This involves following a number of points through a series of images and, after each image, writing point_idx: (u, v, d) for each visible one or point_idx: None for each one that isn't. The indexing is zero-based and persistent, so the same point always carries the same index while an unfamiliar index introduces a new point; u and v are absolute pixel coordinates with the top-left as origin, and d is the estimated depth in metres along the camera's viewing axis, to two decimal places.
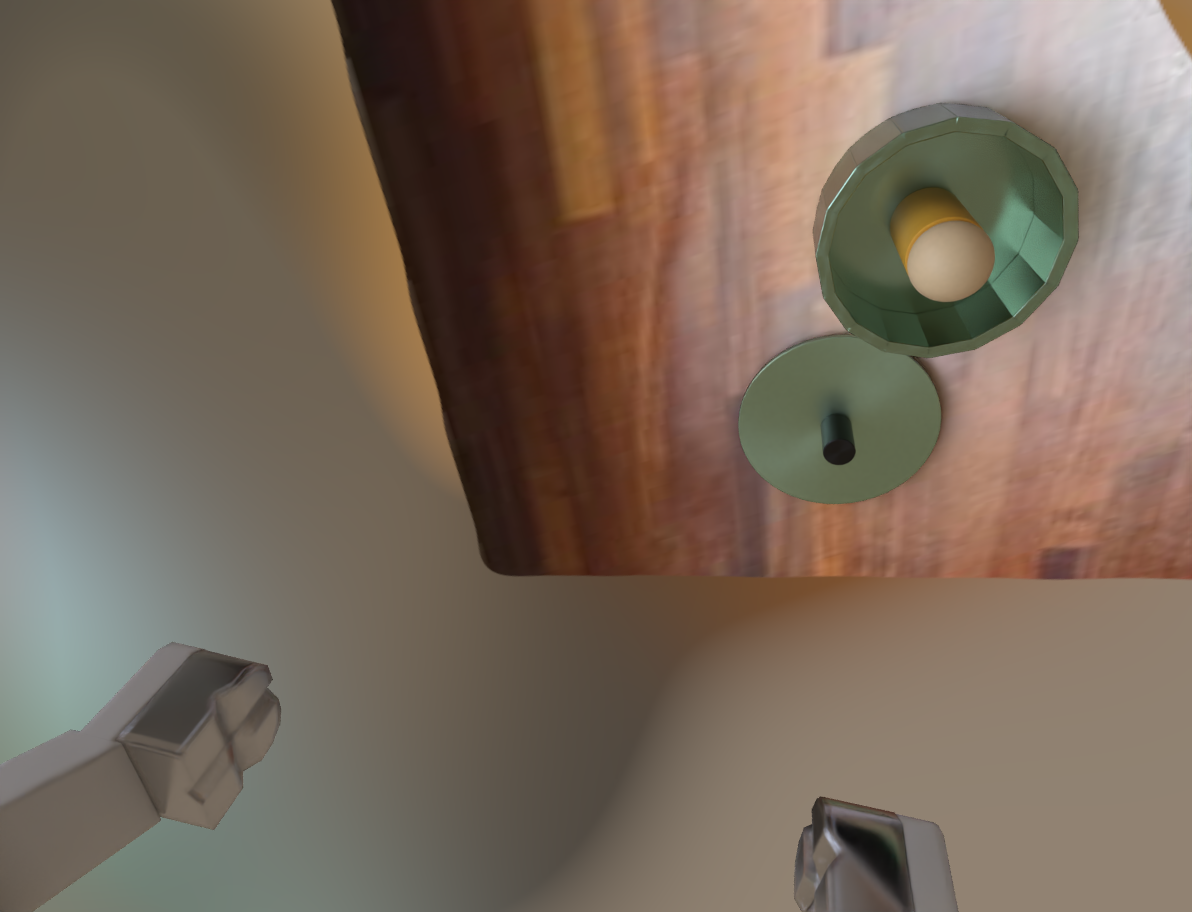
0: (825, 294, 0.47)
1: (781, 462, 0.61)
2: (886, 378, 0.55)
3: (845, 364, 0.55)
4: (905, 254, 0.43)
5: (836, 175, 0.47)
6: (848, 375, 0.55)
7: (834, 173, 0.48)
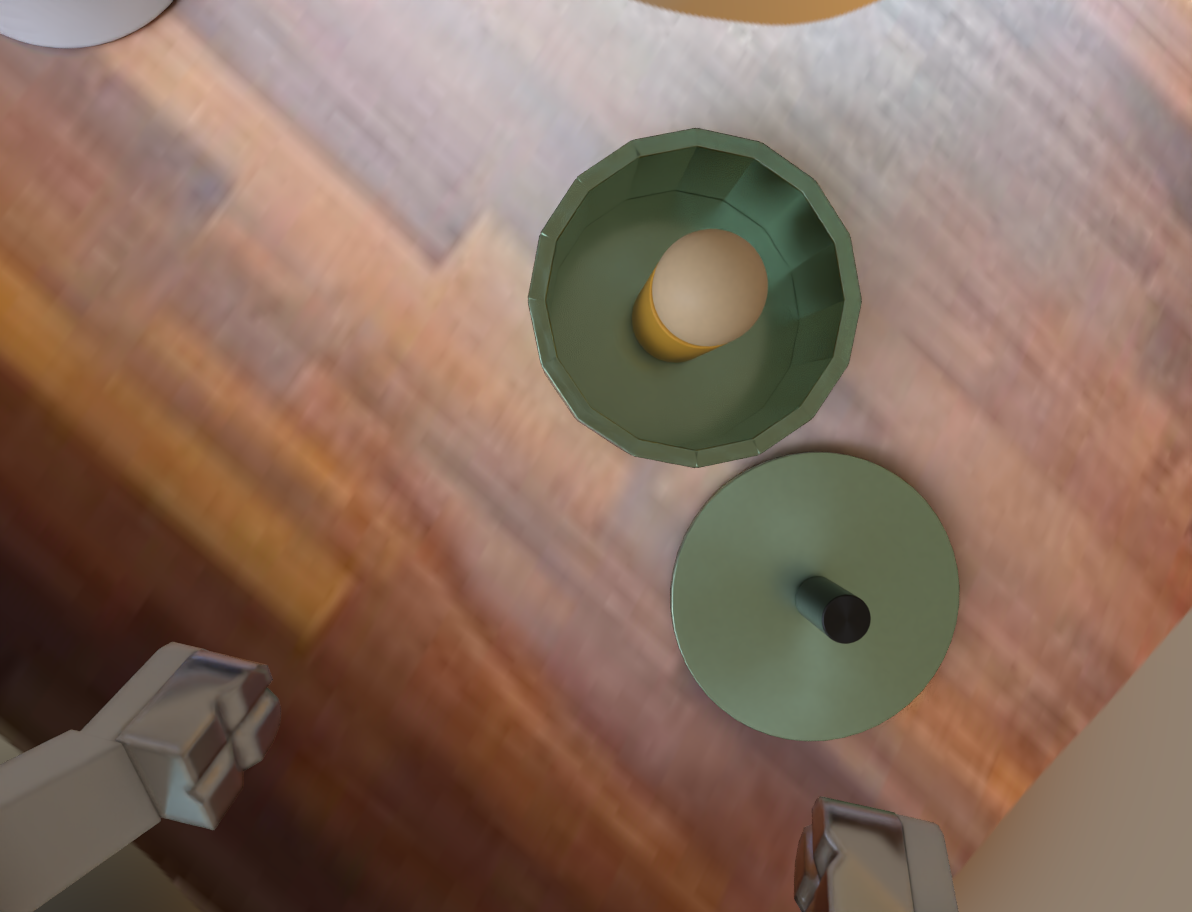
0: (631, 450, 0.32)
1: (806, 700, 0.38)
2: (808, 496, 0.38)
3: (751, 520, 0.38)
4: (661, 329, 0.30)
5: None
6: (766, 529, 0.38)
7: None
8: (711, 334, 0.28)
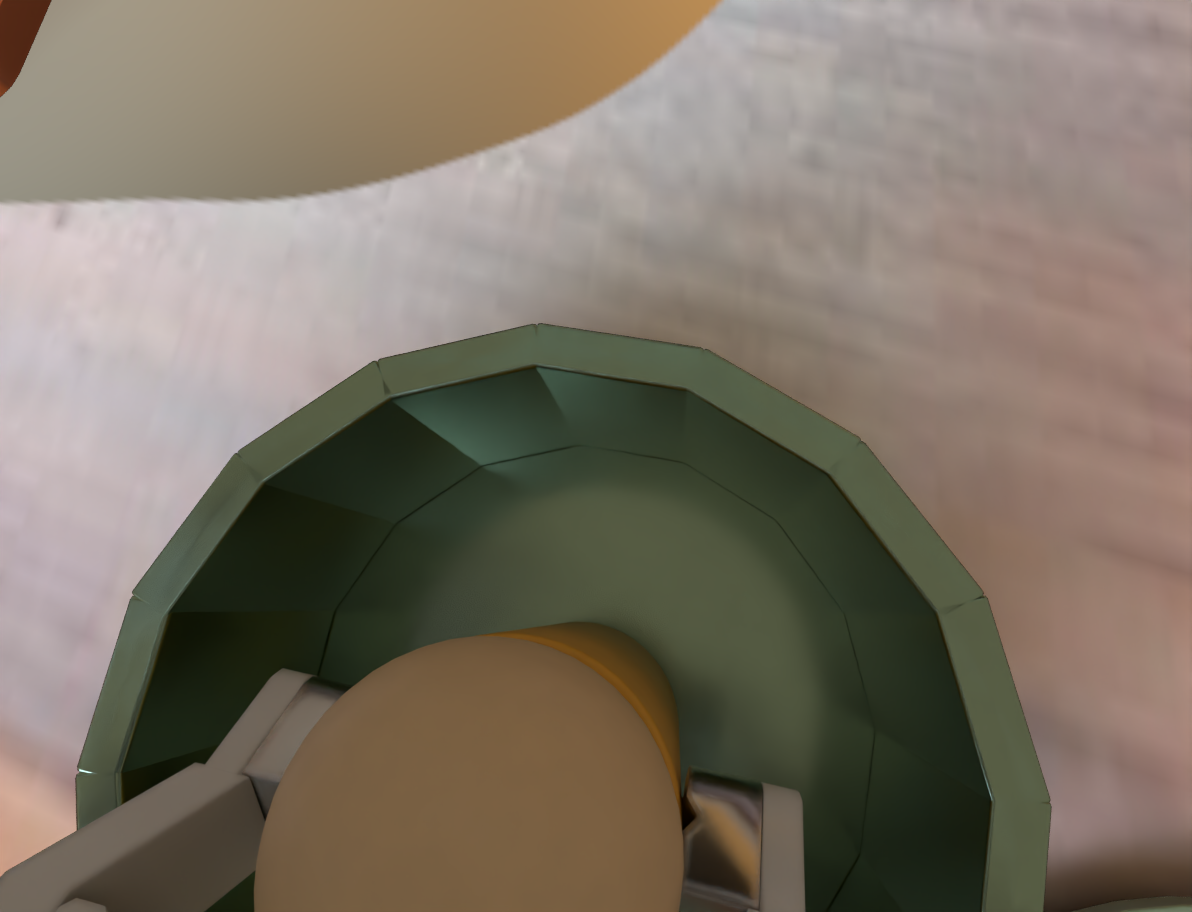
0: None
1: None
2: None
3: None
4: None
5: None
6: None
7: None
8: None
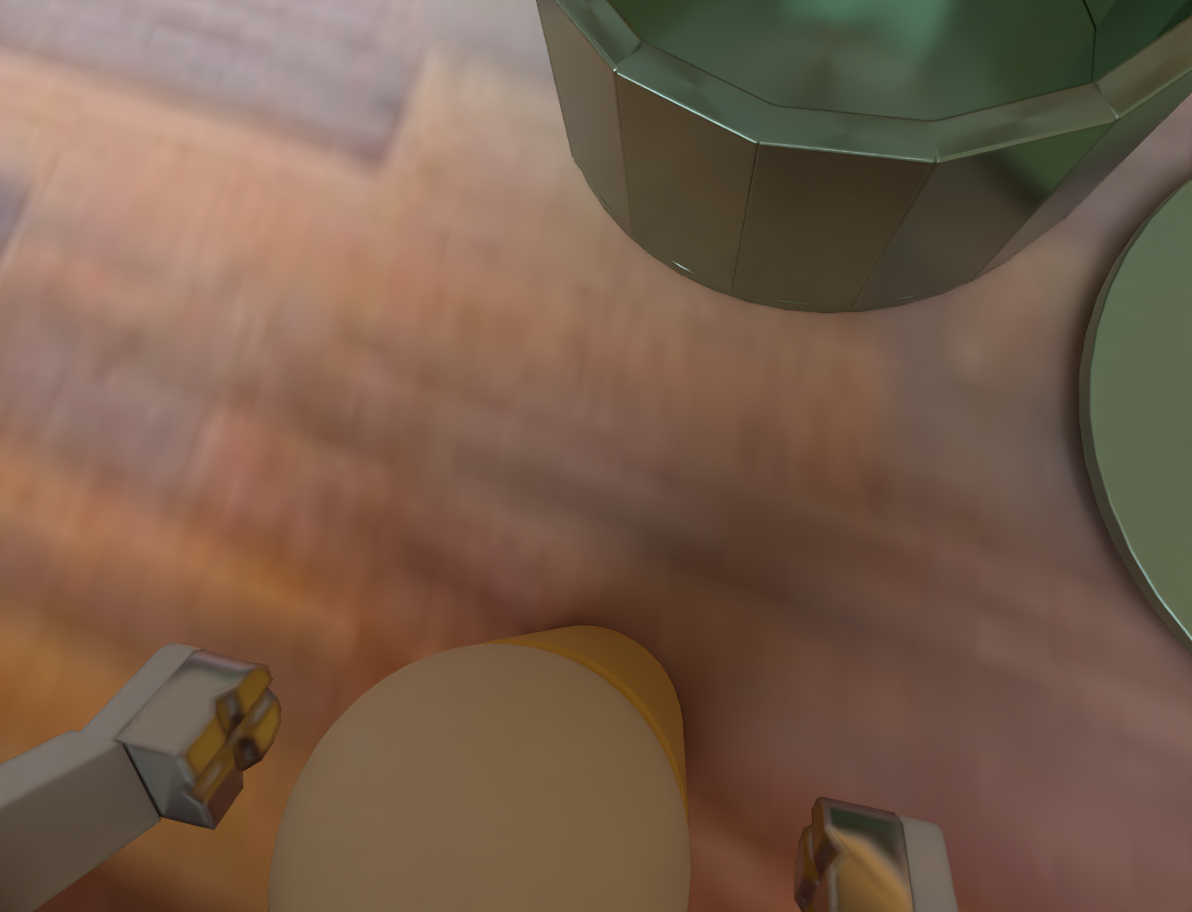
0: (925, 151, 0.12)
1: None
2: None
3: None
4: None
5: (596, 155, 0.17)
6: None
7: (602, 183, 0.18)
8: None
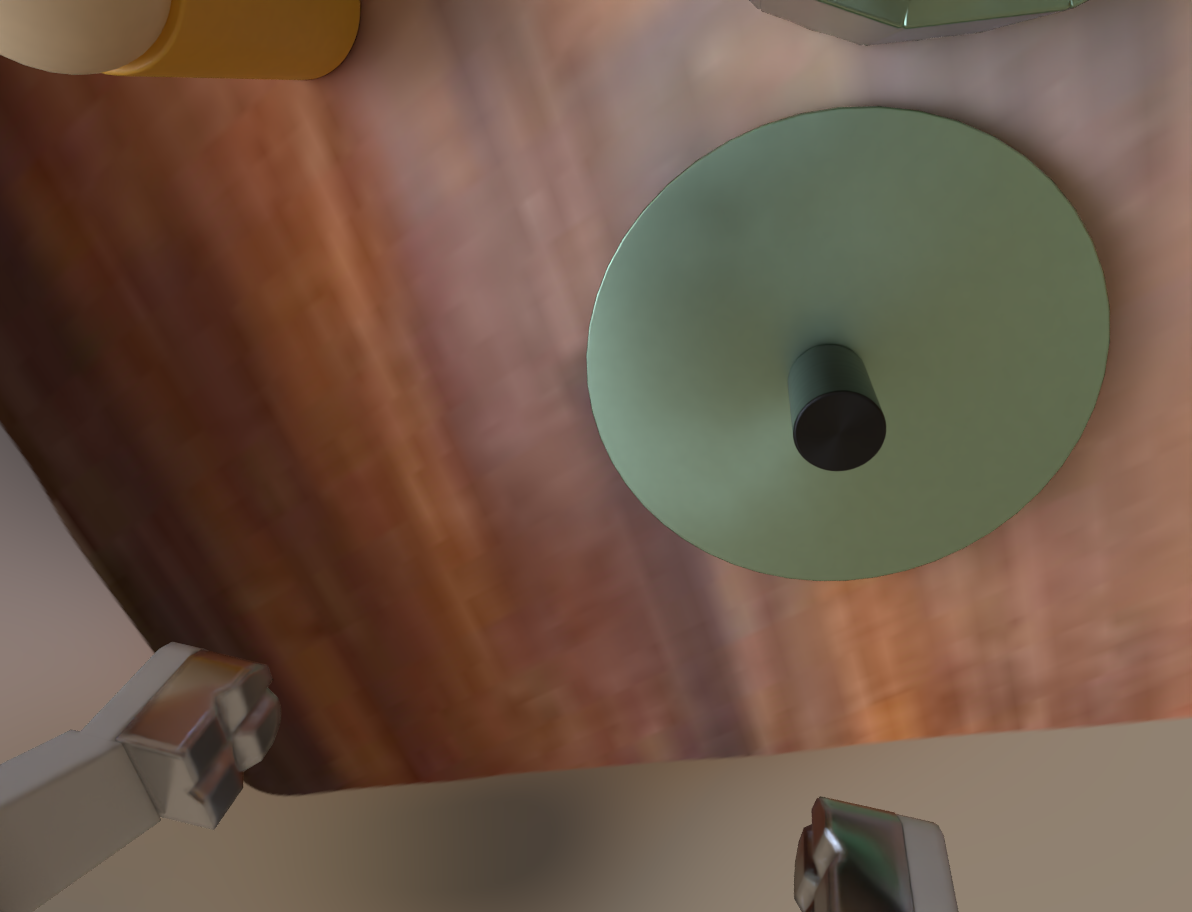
0: None
1: (717, 496, 0.25)
2: (932, 216, 0.20)
3: (812, 199, 0.20)
4: None
5: None
6: (827, 229, 0.21)
7: None
8: None
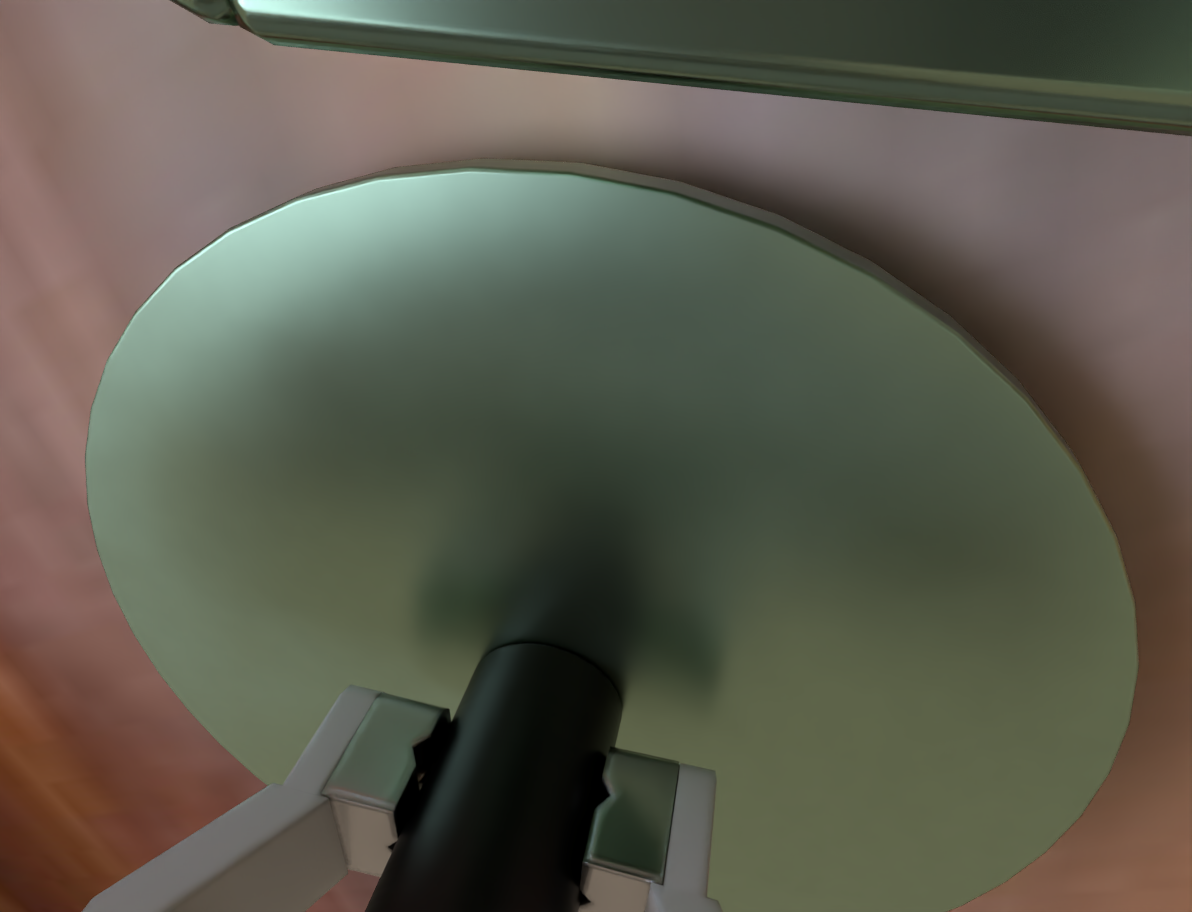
0: None
1: None
2: (779, 475, 0.08)
3: (506, 376, 0.08)
4: None
5: None
6: (542, 446, 0.09)
7: None
8: None
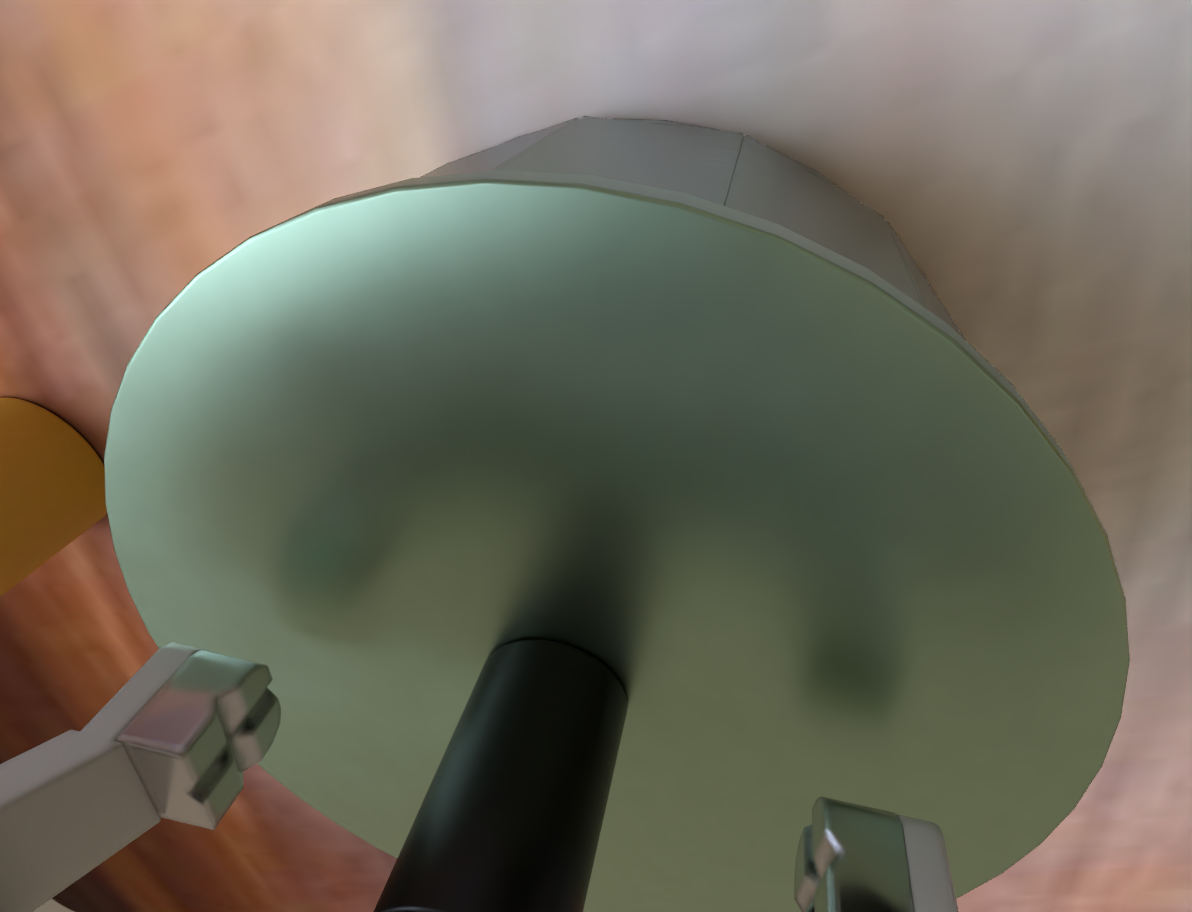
0: None
1: (379, 788, 0.14)
2: (781, 476, 0.08)
3: (517, 380, 0.08)
4: None
5: None
6: (551, 447, 0.09)
7: None
8: None
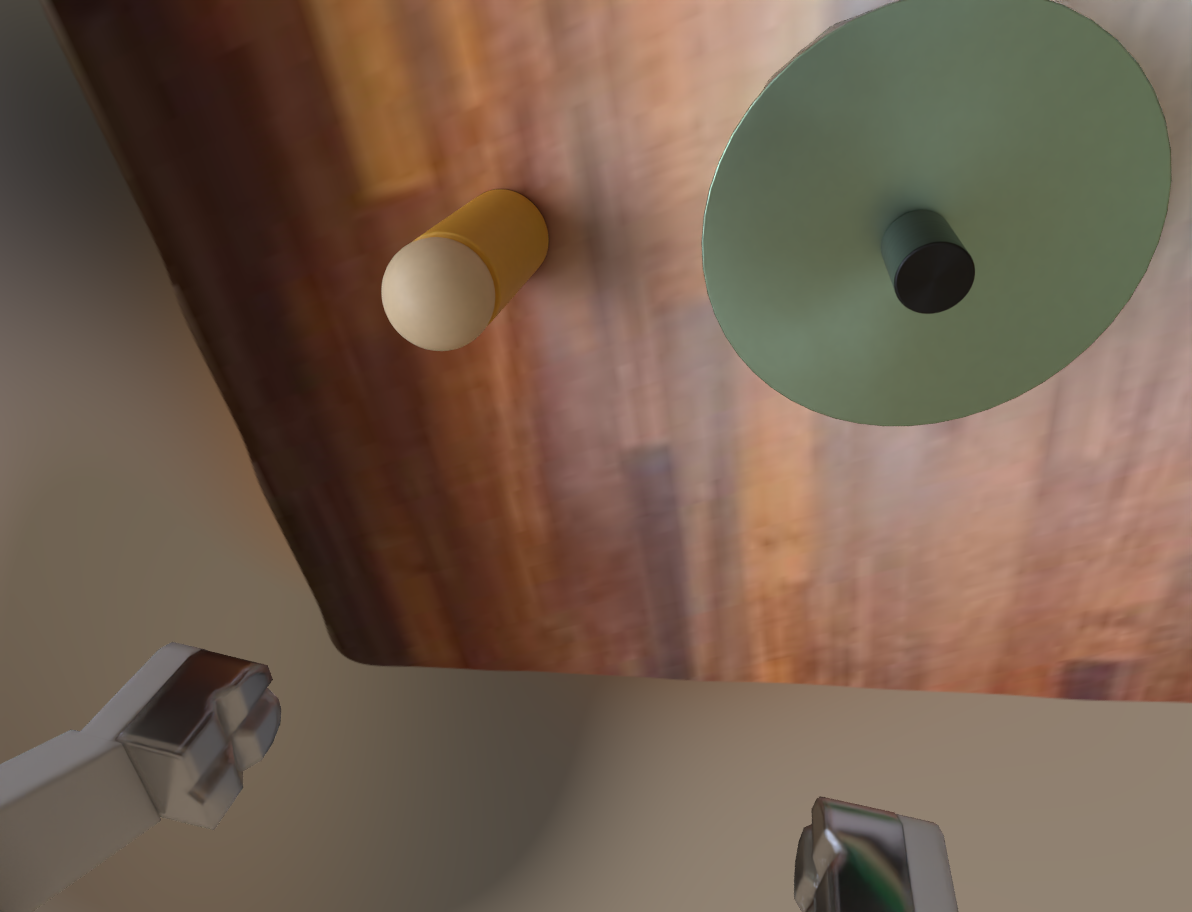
0: None
1: (793, 336, 0.29)
2: (1045, 105, 0.23)
3: (948, 72, 0.23)
4: None
5: None
6: (953, 102, 0.24)
7: None
8: None
